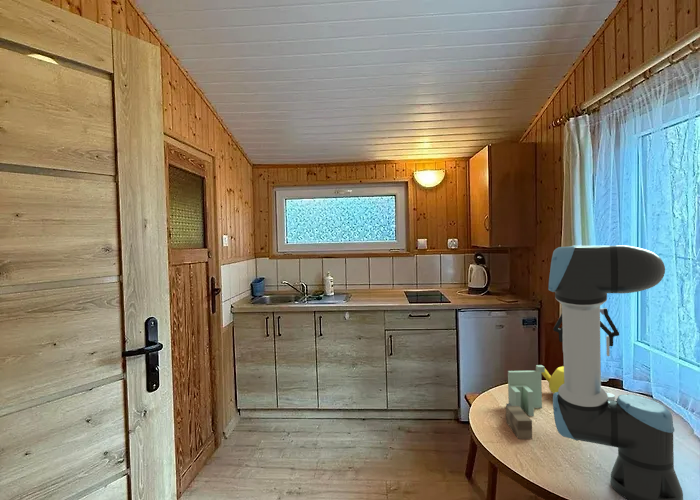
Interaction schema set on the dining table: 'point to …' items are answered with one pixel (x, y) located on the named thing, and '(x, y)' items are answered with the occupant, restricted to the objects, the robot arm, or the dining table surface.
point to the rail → (518, 422)
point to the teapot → (555, 379)
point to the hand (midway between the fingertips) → (585, 353)
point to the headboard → (526, 389)
